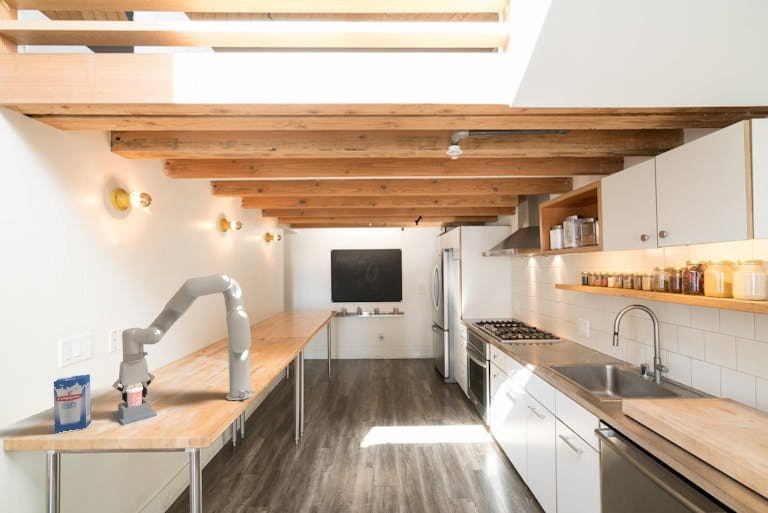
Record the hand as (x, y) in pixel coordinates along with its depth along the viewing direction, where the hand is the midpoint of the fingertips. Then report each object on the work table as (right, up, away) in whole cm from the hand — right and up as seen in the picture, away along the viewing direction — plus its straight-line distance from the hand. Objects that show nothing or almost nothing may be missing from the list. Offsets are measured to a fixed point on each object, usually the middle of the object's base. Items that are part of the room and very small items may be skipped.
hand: (134, 398), depth 162 cm
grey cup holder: (0, -7, 0) cm, 7 cm away
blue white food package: (-17, -8, -12) cm, 22 cm away
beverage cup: (0, -5, 0) cm, 5 cm away
